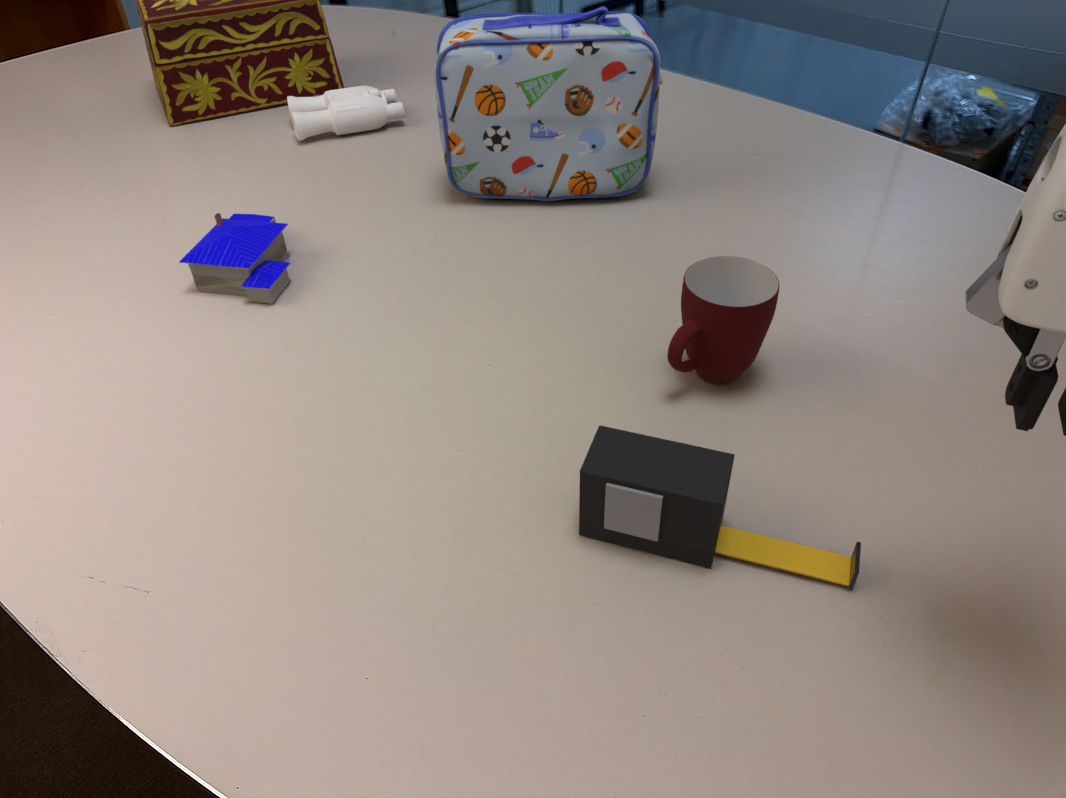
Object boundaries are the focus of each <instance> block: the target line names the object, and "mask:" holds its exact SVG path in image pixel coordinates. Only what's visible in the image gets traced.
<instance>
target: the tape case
mask: <svg viewBox="0 0 1066 798" xmlns="http://www.w3.org/2000/svg"><path fill="white" fill-rule="evenodd" d="M735 456H736V455H735V453H731V452H725V451H720V450H716V449H711V448H707V447H703V446H698V445H693V444H688V443H685V442H679V441H675V440H670V439H666V438H661V437H655V436H651V435H647V434H642V433H639V432H638V433H637V432H632V431H628V430H623V429H619V428H614V427H610V426H606V425H598V427H597V429H596V432H595V434H594V436H593V439H592V441H591V444H590V445H589V448H588V451H587V453H586V455H585V458H584V460H583V462H582V464H581V466H580V469H579V493H578V494H579V498H578V501H579V503H578V504H579V506H578V514H579V515H578V535H579V536H581V537H586V538H590V539H593V540H597V541H601V542H605V543H608V544H612V545H617V546H621V547H625V548H628V549H633V550H637V551H641V552H644V553H648V554H652V555H657V556H660V557H664V558H667V559H671V560H675V561H680V562H683V563H687V564H691V565H695V566H698V567H704V568H707V569H712V567H713V562H714V556H715V549H716V545H717V540H718V536H719V532H720V527H721V525H722V524H723V519H724V514H725V510H726V509H725V508H726V503H727V499H728V493H729V487H730V483H731V478H732V477H731V476H732V472H733V468H734V467H733V466H734V461H735Z"/></svg>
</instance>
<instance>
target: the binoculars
mask: <svg viewBox="0 0 1066 798" xmlns="http://www.w3.org/2000/svg"><path fill="white" fill-rule="evenodd" d="M287 102H288V104H287V106H288V112H289V116H290V121H291V123H292V128H293V130H294V134H295V137H296V139H297V141H298V142H300V141H301V142H302V141H304V140H305V139H307V138H309V137H310V138H311V137H314V136H317V135H320V134H323V133H332V132H333V133H334V134H336V136H343V135H350V134H355V133H362V132H369V131H375V130H378V129H380V128H383V127H384V126H385V125H386V124H388V122H389V121H390V120H392V121H393V120H399V119H405V109H404V105H403V103H402V101H398V102H397V95H396V90H395V89H394V88H387V89H382V90H379V89H378V88H377V87H373V86H371V85H370V86H369V85H359V86H350V87H344V88H342V89H335V90H329V91H325V93H324V94H323V95H321V96H316V97H294V96H287Z"/></svg>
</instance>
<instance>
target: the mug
mask: <svg viewBox="0 0 1066 798" xmlns="http://www.w3.org/2000/svg"><path fill="white" fill-rule="evenodd" d="M780 285H781V284H780V281H779V278H778V277H777V275H776V274H775V272H774V271H773V270H771V269H770V268H769V267H768V266H766V265H764V264H763V263H760V262H758V261H755V260H752V259H750V258H747V257H746V258H745V257H740V256H733V255H732V256H731V255H719V256H711V257H707V258H704V259H701V260H698V261H696V262H694V263H692V264H691V265H690V266H689V267H688V268H687V269H686V270H685V271H684V274H683V279H682V286H681V293H680V294H681V295H680V314H681V322H682V323H681V324H682V325H681V326H679V327H678V328H677V329H676V331H675V332H674V334H673V335H672V337H671V339H670V341H669V345H668V348H667V361H668V364H669V365H670V367H671V368H673V369H674V370H675V371H677V372H680V373H685V374H686V373H690V372H693V371H694V372H695V374H696V375H697V376H698V378H700V379H701V380H702V381H703V382H705V383H709V384H712V385H717V386H719V385H722V386H723V385H729V384H732V383H734V382H735V381H736V380H738V379H739V378H740V377H741V376H742V375H743V374H744V373H745V372H746V371H747V370H748V369H749V368H750V367H751V366H752V364H753V363H754V361H755V360H756V358H757V357H758V355H759V352H760V350H761V348H762V346H763V344H764V341H765V339H766V337H767V333H768V332H769V329H770V326H771V324H772V322H773V320H774V315H775V312H776V310H777V305H778V300H779V294H780V287H781V286H780ZM684 352H685V353H686V356H687V359H686V360H683V355H684Z"/></svg>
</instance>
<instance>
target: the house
mask: <svg viewBox="0 0 1066 798" xmlns="http://www.w3.org/2000/svg"><path fill="white" fill-rule="evenodd" d="M213 217H214V219H215V223H216V224H215V225H214V226H213V227H212V228H211V229H210V230H209V231H208V232H207V233H206V234H205V235H204V236H203V237H202V238H201V239H200V240H199V241H198V242H197V243H196V244H195V245H194V246H193V247H192V248H191V249H190V250H189V251H188V252H187V253H186V254H185V255H184V256H183V257H182V258H181V259H180V260H179V261H178V264H185V265H187V264H188V267H189V269H190V273H191V275H192V278H193V281H194V283H195V287H196V289H197V292H203V293H213V294H214V293H215V294H225V295H235V296H247V299H248V302H250V303H259V304H268V305H269V304H271V305H273V304H274V303H275V301H276V300H277V299H278V298H279V296H280V295H281V294H282V293H283V291H284V290H285V289H286V287H287V286H288V285H289V284H290V282H291V281H290V277H289V272H288V267H289V266H290V265H291V262H290V261H287V260H288V258H289V252H288V249H287V244H286V241H285V237H284V233H283V231H284V230H285V229H286V228H287V227H288V225H289V223H284V222H277V221H276V218H275V216H273V215H272V216H271V215H264V214H257V213H232V215H231V216H229V218H222V215H221V213H220V212H219V213H218V212H216V213H215V215H214V216H213Z"/></svg>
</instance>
